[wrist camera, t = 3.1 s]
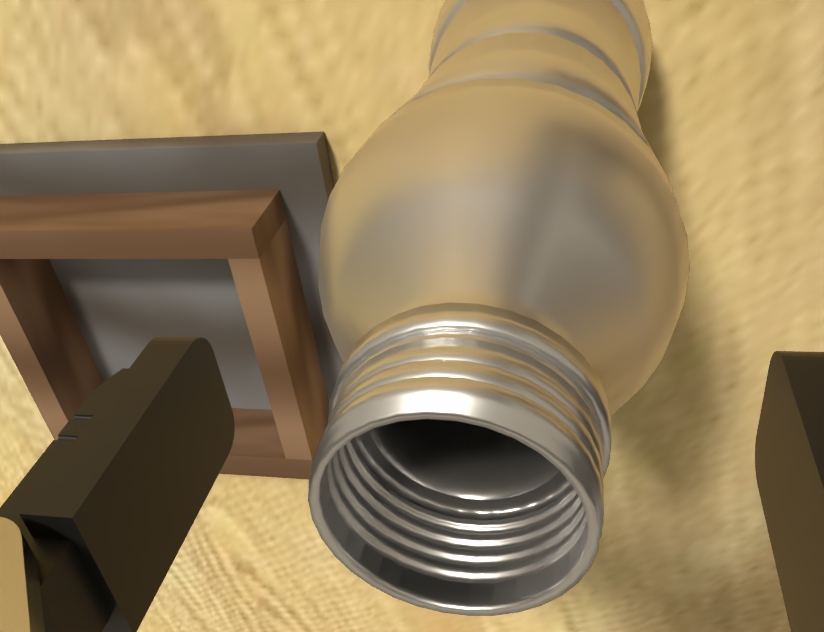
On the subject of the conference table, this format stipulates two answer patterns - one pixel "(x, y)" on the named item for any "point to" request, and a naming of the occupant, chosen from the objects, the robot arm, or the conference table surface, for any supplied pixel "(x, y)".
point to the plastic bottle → (495, 306)
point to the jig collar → (174, 275)
